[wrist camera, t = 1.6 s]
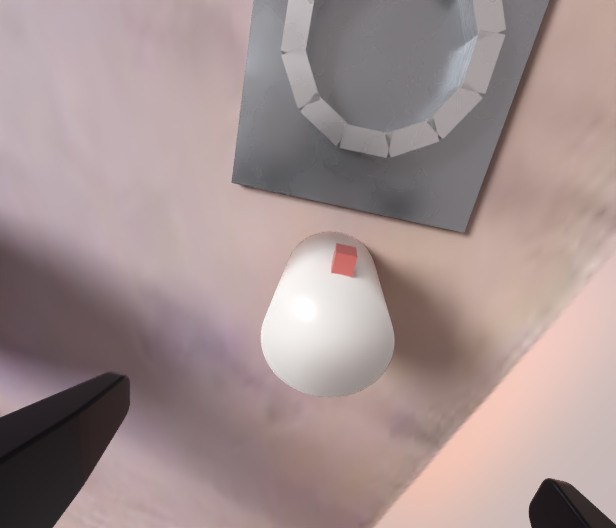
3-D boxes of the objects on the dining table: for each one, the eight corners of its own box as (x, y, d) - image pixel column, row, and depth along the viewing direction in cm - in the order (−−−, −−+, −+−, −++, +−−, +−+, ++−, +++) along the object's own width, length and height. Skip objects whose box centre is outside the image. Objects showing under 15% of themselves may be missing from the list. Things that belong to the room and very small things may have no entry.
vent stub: (363, 322, 21) (374, 409, 14) (279, 304, 21) (252, 382, 14) (390, 228, 19) (419, 277, 12) (297, 208, 19) (276, 246, 12)
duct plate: (460, 229, 18) (474, 240, 16) (234, 181, 18) (222, 186, 16) (586, -119, 13) (629, -163, 11) (279, -182, 14) (270, -237, 12)
